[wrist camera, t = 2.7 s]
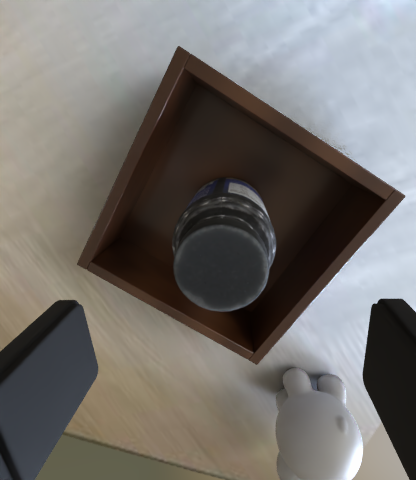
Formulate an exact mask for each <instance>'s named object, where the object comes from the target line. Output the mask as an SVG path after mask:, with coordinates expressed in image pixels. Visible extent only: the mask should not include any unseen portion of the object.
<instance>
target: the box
mask: <svg viewBox="0 0 416 480" xmlns="http://www.w3.org/2000/svg"><path fill="white" fill-rule="evenodd" d="M223 177H228V178H230V177H233V178H238V179H241V180H244V181H246V182H248V183H249V184H250V185H251V186H252V187H254V188H255V189H256V190H257V192H258V193H259V195H260V196H261V198H262V200H263V203H264V206H265V208H266V211H267V214H268V216H269V219H270V221H271V224H272V226H273V229H274V233H275V238H276V251H275V256H274V260H273V263H272V265H271V267H270V269H269V276H268V280H267V283H266V286H265V287H264V289H263V291H262V292H261V293H260V295H259V296H258V297H257V298H256V299H255V300H254V301H253V302H251V303H250V304H248V305H247V306H244V307H242V308H239V309H236V310H232V311H213V310H208V309H205V308H202V307H201V306H198V305H196V304H195V303H193V302H192V301H191V300H189V299H188V298H187V297H186V296H185V295H184V294H183V293H182V291H181V290H180V288H179V286H178V285H177V282H176V280H175V276H174V270H173V262H174V255H173V248H172V238H173V232H174V228H175V225H176V224H177V221H178V219H179V217H180V216H181V214H182V213H183V212H184V211H185V209H186V208H187V206H188V204H189V203H190V202H191V200H192V199H193V197H194V196H195V194H196V193H197V192H198V190H199V189H200V188H201V187H202V186H203V185H205V184H206V183H208V182H210V181H211V180H214V179H217V178H223ZM404 198H405V195H404V194H402V193H401V192H399V191H398V190H396V189H395V188H393V187H392V186H390V185H389V184H387V183H386V182H384V181H383V180H381V179H380V178H378V177H377V176H375V175H374V174H372V173H370V172H369V171H367V170H366V169H364V168H363V167H361V166H360V165H358V164H357V163H355V162H354V161H352V160H351V159H349V158H348V157H346V156H345V155H343V154H342V153H340V152H339V151H337V150H336V149H334V148H333V147H331V146H330V145H328V144H327V143H325V142H324V141H322V140H321V139H319V138H318V137H316V136H315V135H313V134H312V133H310V132H308V131H307V130H305V129H304V128H302V127H301V126H299V125H298V124H296V123H295V122H293V121H292V120H290V119H289V118H287V117H286V116H284V115H283V114H281V113H280V112H278V111H277V110H275V109H274V108H272V107H271V106H269V105H268V104H266V103H265V102H263V101H262V100H260V99H259V98H257V97H256V96H254V95H253V94H251V93H249V92H248V91H246V90H245V89H243V88H242V87H240V86H239V85H237V84H236V83H234V82H233V81H231V80H230V79H228V78H227V77H225V76H224V75H222V74H221V73H219V72H218V71H216V70H215V69H213V68H212V67H210V66H209V65H207V64H206V63H204V62H203V61H201V60H200V59H198V58H197V57H195V56H194V55H192V54H190V53H189V52H187V51H186V50H184V49H183V48H181V47H180V46H178V47H177V49H176V51H175V53H174V56H173V58H172V60H171V62H170V64H169V66H168V69H167V71H166V73H165V75H164V77H163V79H162V81H161V84H160V86H159V88H158V90H157V92H156V94H155V97H154V99H153V101H152V103H151V105H150V107H149V110H148V112H147V114H146V116H145V118H144V120H143V123H142V125H141V127H140V129H139V131H138V133H137V136H136V138H135V140H134V142H133V144H132V146H131V149H130V151H129V153H128V155H127V157H126V159H125V161H124V164H123V166H122V168H121V170H120V172H119V174H118V177H117V179H116V181H115V183H114V185H113V187H112V190H111V192H110V194H109V196H108V198H107V200H106V203H105V205H104V207H103V209H102V211H101V213H100V216H99V218H98V220H97V222H96V224H95V226H94V229H93V231H92V233H91V235H90V237H89V239H88V241H87V244H86V246H85V248H84V250H83V252H82V254H81V257H80V259H79V261H78V263H77V265H79V266H81V267H82V268H84V269H87V270H88V271H90V272H91V273H93V274H95V275H97V276H99V277H100V278H102V279H104V280H106V281H108V282H109V283H111V284H113V285H115V286H117V287H118V288H120V289H122V290H124V291H126V292H127V293H129V294H131V295H133V296H135V297H136V298H138V299H140V300H142V301H144V302H145V303H147V304H149V305H151V306H153V307H154V308H156V309H158V310H160V311H162V312H163V313H165V314H167V315H169V316H171V317H172V318H174V319H176V320H178V321H179V322H181V323H183V324H185V325H187V326H188V327H190V328H192V329H194V330H196V331H197V332H199V333H201V334H203V335H205V336H206V337H208V338H210V339H212V340H214V341H215V342H217V343H219V344H221V345H223V346H224V347H226V348H228V349H230V350H232V351H233V352H235V353H237V354H239V355H241V356H242V357H244V358H246V359H249V361H251V362H253V363H255V364H256V365H257V364H258V363H259V362H260V361H261V360H262V359H263V357H264V356H265V355H266V354H267V353H268V352H269V351H270V350H271V348H272V347H273V346H274V345H275V344H276V343H277V342H278V340H279V339H280V338H281V337H282V336H283V335H284V334H285V333H286V331H287V330H288V329H289V328H290V327H291V326H292V325H293V323H294V322H295V321H296V320H297V319H298V318H299V317H300V316H301V314H302V313H303V312H304V311H305V310H306V309H307V308H308V306H309V305H310V304H311V303H312V302H313V301H314V300H315V299H316V297H317V296H318V295H319V294H320V293H321V292H322V291H323V289H324V288H325V287H326V286H327V285H328V284H329V283H330V282H331V280H332V279H333V278H334V277H335V276H336V275H337V274H338V272H339V271H340V270H341V269H342V268H343V267H344V266H345V265H346V263H347V262H348V261H349V260H350V259H351V258H352V257H353V255H354V254H355V253H356V252H357V251H358V250H359V249H360V248H361V246H362V245H363V244H364V243H365V242H366V241H367V240H368V238H369V237H370V236H371V235H372V234H373V233H374V232H375V231H376V229H377V228H378V227H379V226H380V225H381V224H382V223H383V221H384V220H385V219H386V218H387V217H388V216H389V215H390V214H391V212H392V211H393V210H394V209H395V208H396V207H397V206H398V204H399V203H400V202H401V201H402V200H403V199H404Z"/></svg>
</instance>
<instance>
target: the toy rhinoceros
mask: <svg viewBox="0 0 416 480" xmlns="http://www.w3.org/2000/svg"><path fill="white" fill-rule="evenodd" d="M283 384H284V387H285V389H282V390H280V391H279V392H278V393H277V395H276V404H277V408H278V410H279V413H278V416H277V420H276V439H277V444H278V447H279V450H280V452H279V454H278V457H277V472H278V475H279V478H280V480H351V479H352V478H353V477H354V476H355V475H356V473H357V471H358V469H359V467H360V464H361V460H362V453H363V444H362V438H361V433H360V430H359V428H358V425H357V423H356V421H355V419H354V418H353V416H352V414H351V413H350V412H349V410H348V409H347V408H346V407H345V403H346V390H345V386H344V383H343V382H342V380H341V379H340V378H339V377H337V376H336V375H330V374H329V375H324V376H321V377H320V378H319V379H318V381H317V389H318V391H315V390H313V389H312V386H311V382H310V379H309V377H308V375H307V373H306V372H305V371H304V370H302V369H300V368H291V369H289V370H288V371H286V372H285V374H284V375H283Z"/></svg>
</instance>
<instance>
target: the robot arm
mask: <svg viewBox="0 0 416 480" xmlns="http://www.w3.org/2000/svg"><path fill="white" fill-rule="evenodd" d="M97 374H98V364H97V360H96V356H95V352H94V348H93V344H92V341H91V337H90V333H89V329H88V325H87V321H86V317H85V313H84V309H83V306H82V305H80V304H79V303H78V302H77V301H75V300H59V301H57V302H55V303H54V304H53V305H52V306H51V307H50V308H48V309H47V310H46V311H45V312H44V313H43V314H42V315H41V316H40V317H38V318H37V319H36V320H35V321H34V322H33V323H32V324H31V325H29V326H28V327H27V328H26V329H25V330H24V331H23V332H22V333H21V334H19V335H18V336H17V337H16V338H15V339H14V340H13V341H12V342H11V343H9V344H8V345H7V346H6V347H5V348H4V349H3V350H2V351H1V352H0V480H35V478H36V477H37V475H38V473H39V471H40V470H41V468H42V467H43V465H44V463H45V462H46V459H47V458H48V456H49V455H50V453H51V452H52V450H53V448H54V447H55V445H56V443H57V442H58V440H59V438H60V437H61V435H62V433H63V432H64V430H65V428H66V427H67V425H68V423H69V422H70V420H71V419H72V417H73V415H74V414H75V412H76V410H77V409H78V407H79V405H80V404H81V402H82V400H83V399H84V397H85V395H86V394H87V392H88V390H89V389H90V387H91V385H92V384H93V382H94V380H95V379H96V377H97ZM363 382H364V385H365V388H366V390H367V392H368V394H369V396H370V398H371V400H372V402H373V404H374V406H375V409H376V411H377V413H378V415H379V417H380V419H381V421H382V423H383V425H384V427H385V429H386V432H387V434H388V435H389V438H390V440H391V442H392V444H393V446H394V448H395V450H396V452H397V454H398V457H399V459H400V461H401V463H402V465H403V467H404V469H405V471H406V473H407V475H408V477H409V479H410V480H416V312H415V311H414V310H413V309H412V308H411V307H410V306H409V305H408V304H407V303H406V302H405V301H404V300H403V299H380V300H379V301H378V303H377V304H373V305H372V308H371V315H370V322H369V330H368V337H367V345H366V353H365V360H364V368H363Z"/></svg>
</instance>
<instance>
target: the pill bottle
mask: <svg viewBox="0 0 416 480" xmlns="http://www.w3.org/2000/svg"><path fill="white" fill-rule="evenodd" d="M172 248H173V255H174V262H173V270H174V276H175V280H176V282H177V285H178V286H179V288H180V290H181V291H182V293H183V294H184V295H185V296H186V297H187V298H188V299H189V300H191V301H192V302H193V303H195V304H196V305H198V306H201V307H202V308H205V309H208V310H213V311H232V310H236V309H239V308H242V307H244V306H247V305H248V304H250V303H251V302H253V301H254V300H255V299H256V298H257V297H258V296H259V295H260V293H261V292H262V291H263V289H264V287H265V286H266V283H267V280H268V276H269V269H270V267H271V265H272V263H273V260H274V256H275V251H276V238H275V233H274V229H273V226H272V224H271V221H270V219H269V216H268V214H267V211H266V208H265V206H264V203H263V200H262V198H261V196H260V195H259V193H258V192H257V190H256V189H255V188H254V187H252V186H251V185H250V184H249V183H248V182H246V181H244V180H241V179H238V178H233V177H230V178H228V177H223V178H217V179H214V180H211V181H210V182H208V183H206V184H205V185H203V186H202V187H201V188H200V189H199V190H198V192H197V193H196V194H195V196H194V197H193V199H192V200H191V202H190V203H189V204H188V206H187V208H186V209H185V211H184V212H183V213H182V214H181V216H180V217H179V219H178V221H177V224H176V225H175V228H174V232H173V238H172Z"/></svg>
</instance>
